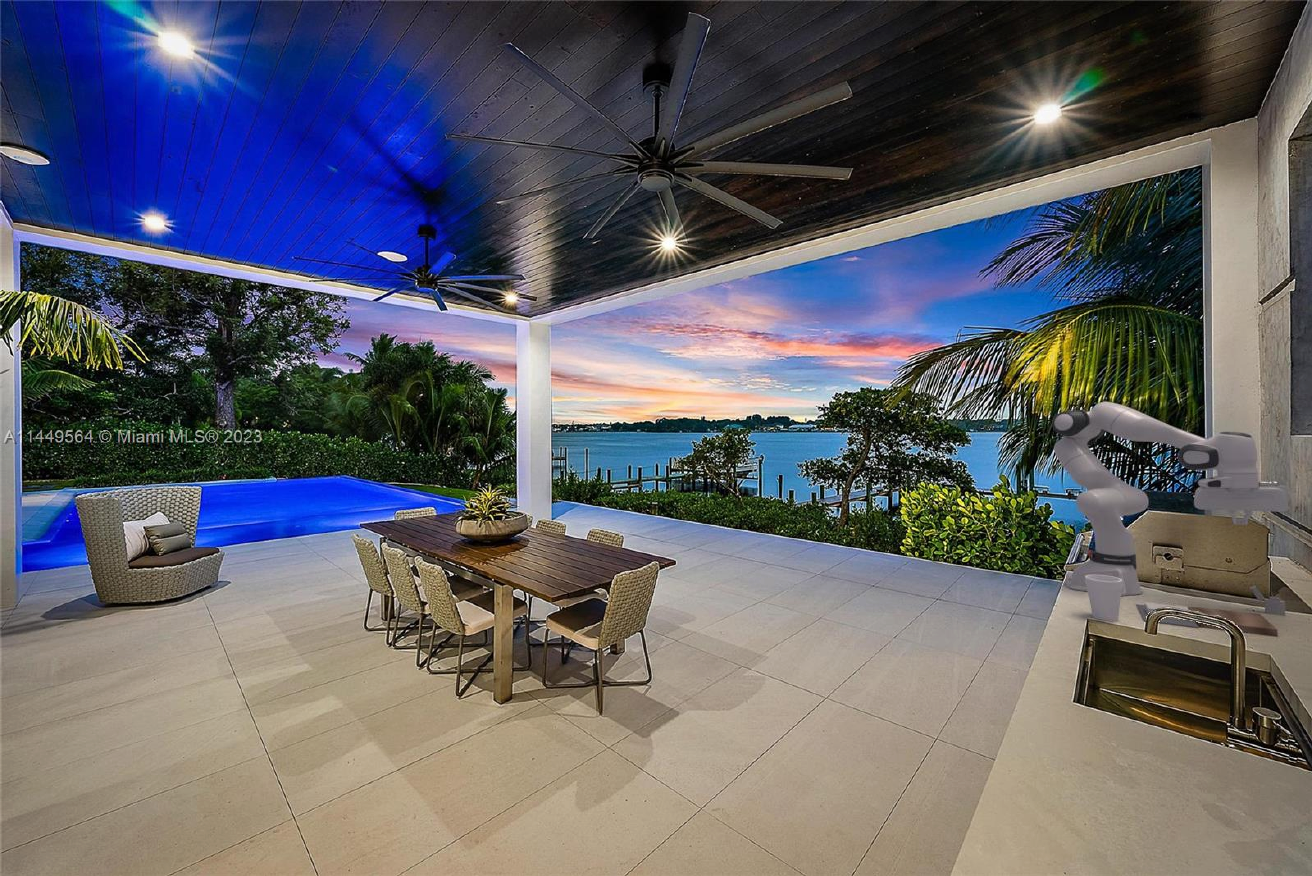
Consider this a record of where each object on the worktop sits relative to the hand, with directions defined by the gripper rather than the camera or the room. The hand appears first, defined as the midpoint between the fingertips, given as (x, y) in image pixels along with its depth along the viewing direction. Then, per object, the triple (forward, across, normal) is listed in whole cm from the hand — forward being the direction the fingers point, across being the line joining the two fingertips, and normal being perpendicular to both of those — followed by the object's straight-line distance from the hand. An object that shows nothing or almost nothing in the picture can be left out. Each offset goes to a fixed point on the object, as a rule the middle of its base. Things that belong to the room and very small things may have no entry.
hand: (1240, 524), depth 167 cm
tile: (+29, +20, +13) cm, 37 cm away
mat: (+29, +20, +13) cm, 38 cm away
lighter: (+29, -6, -5) cm, 30 cm away
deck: (+29, +6, +13) cm, 32 cm away
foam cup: (+29, +36, +23) cm, 52 cm away
